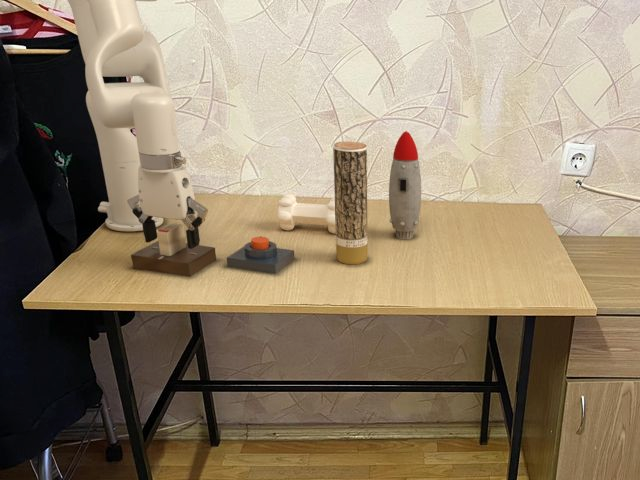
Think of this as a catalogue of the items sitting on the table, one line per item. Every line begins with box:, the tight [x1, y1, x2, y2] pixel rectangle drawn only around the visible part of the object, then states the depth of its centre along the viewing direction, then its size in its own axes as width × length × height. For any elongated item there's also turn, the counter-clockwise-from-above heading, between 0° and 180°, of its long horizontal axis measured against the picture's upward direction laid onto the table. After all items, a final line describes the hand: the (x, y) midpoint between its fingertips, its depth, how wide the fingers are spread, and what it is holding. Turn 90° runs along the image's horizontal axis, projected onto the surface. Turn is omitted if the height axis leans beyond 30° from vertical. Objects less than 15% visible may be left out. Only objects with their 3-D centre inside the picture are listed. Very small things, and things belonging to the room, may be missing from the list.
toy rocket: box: [388, 130, 422, 240], centre depth 168 cm, size 8×8×25 cm
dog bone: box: [276, 193, 336, 235], centre depth 172 cm, size 15×9×8 cm, turn 87°
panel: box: [130, 240, 217, 278], centre depth 149 cm, size 13×10×3 cm
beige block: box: [156, 222, 187, 256], centre depth 147 cm, size 6×2×5 cm, turn 167°
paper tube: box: [332, 141, 368, 266], centre depth 152 cm, size 7×7×25 cm
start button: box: [250, 236, 270, 249], centre depth 151 cm, size 4×4×2 cm
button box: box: [226, 240, 296, 275], centre depth 152 cm, size 11×9×4 cm
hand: (172, 243), depth 148 cm, fingers open, 9 cm apart
